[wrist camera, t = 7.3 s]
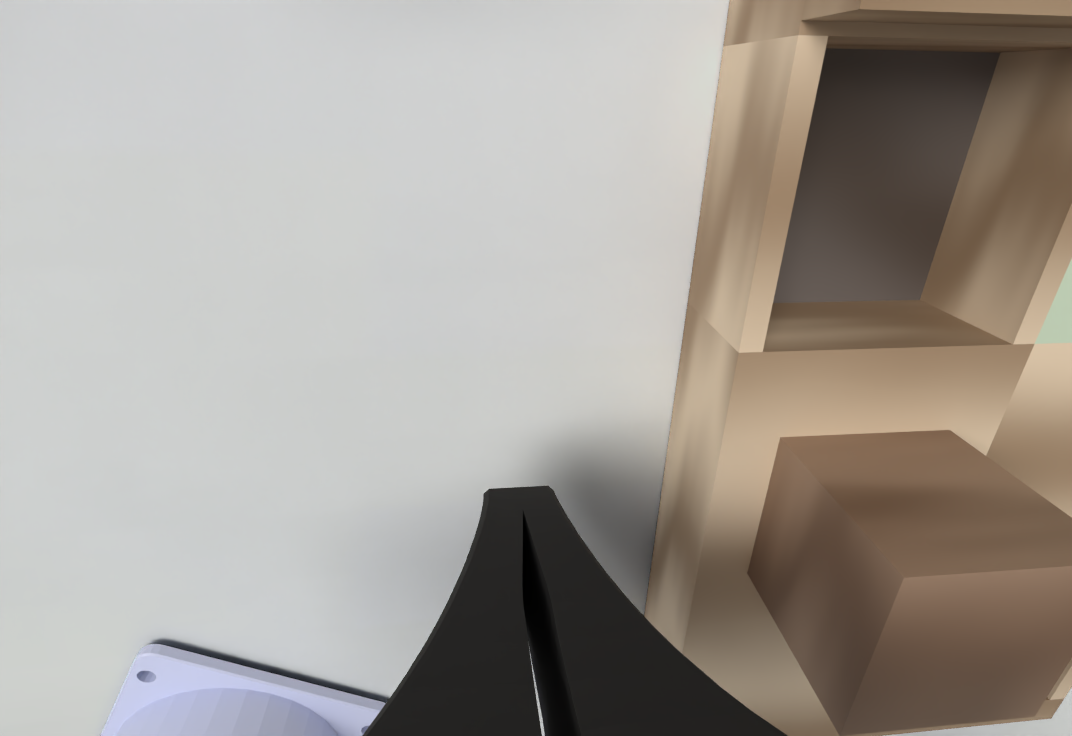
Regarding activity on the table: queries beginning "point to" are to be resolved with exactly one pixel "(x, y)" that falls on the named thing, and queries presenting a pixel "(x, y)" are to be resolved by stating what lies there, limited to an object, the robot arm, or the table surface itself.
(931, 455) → the walnut block
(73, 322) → the table surface
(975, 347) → the board
